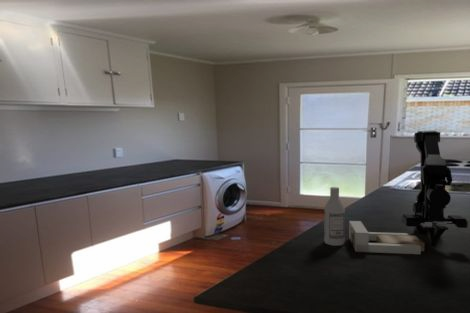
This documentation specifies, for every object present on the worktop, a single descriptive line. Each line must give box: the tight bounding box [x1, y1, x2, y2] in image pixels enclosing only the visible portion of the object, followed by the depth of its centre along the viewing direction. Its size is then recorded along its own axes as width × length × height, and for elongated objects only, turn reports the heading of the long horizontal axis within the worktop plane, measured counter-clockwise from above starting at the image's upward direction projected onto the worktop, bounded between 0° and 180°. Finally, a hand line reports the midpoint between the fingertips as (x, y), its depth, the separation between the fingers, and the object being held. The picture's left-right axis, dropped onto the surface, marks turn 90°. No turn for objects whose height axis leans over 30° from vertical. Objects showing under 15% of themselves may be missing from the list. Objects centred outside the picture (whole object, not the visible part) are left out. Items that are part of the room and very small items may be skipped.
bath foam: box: [323, 186, 346, 247], centre depth 123 cm, size 7×7×20 cm
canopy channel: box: [348, 220, 422, 255], centre depth 120 cm, size 20×14×6 cm
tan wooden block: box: [376, 235, 426, 252], centre depth 119 cm, size 13×8×3 cm, turn 82°
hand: (432, 245), depth 117 cm, fingers closed
